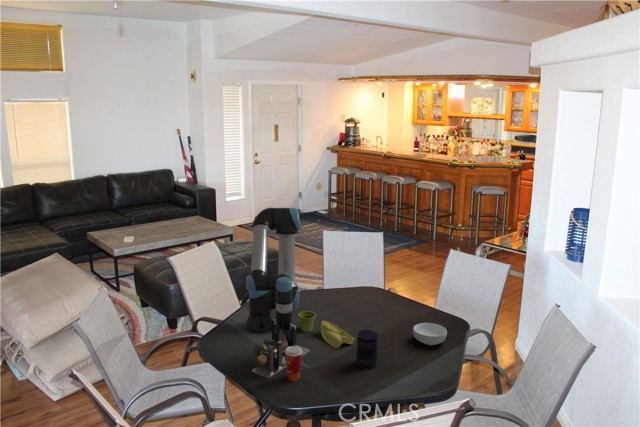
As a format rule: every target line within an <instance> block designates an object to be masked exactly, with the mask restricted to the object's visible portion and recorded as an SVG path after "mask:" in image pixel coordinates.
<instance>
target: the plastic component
mask: <svg viewBox="0 0 640 427" xmlns="http://www.w3.org/2000/svg"><path fill="white" fill-rule="evenodd" d="M320 333H321V334H320V335H321V337H322V338H323V340H324V341H325V342H326V343H327V344H328V345H329V346H331V347H332V348H334V349H339V348H340V347H341V346H342V344H348V345H353V344H354V341H355V338H354V337H353V336H351V334H349V333H347V331H345V330H343V329H342V328H341V327H339V326H338V325H336V324H334V323H333V322H330V321H326V320H322V321H321V322H320Z"/></svg>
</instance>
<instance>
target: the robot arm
mask: <svg viewBox="0 0 640 427" xmlns="http://www.w3.org/2000/svg"><path fill="white" fill-rule="evenodd" d="M299 213H300V212H299V209H298V208H295V207H294V208H293V207H267V208H264V209H263V210H261V211H259V212H258V213H257V215H256V216H255V217H254V219H253V221H252V224H251V233H252V235H253V236H252V248H251V249H252V250H251V264H250V266H251V267H250V274H248V275H246V277H245V290H246V291H248V292H249V294H248V298H249V299H248V300H249V304H248V305H249V307H248V308H249V314H248V317H247V321H246V325H245V327H246V330H247V331H249V332H251V333H253V334H254V333H256V334H263V333H269V332H271V341H274V342H277V343H281V342H282V341H281V336H282V333H283V331H284V334H285V338H286V339H285V340H287V343H288V346H286V348H287V347H289V346H294V345H297V328H298V326H297V325H296V324H295V325H294V324H293V322H292V320H293V319H292V318H293V310H296V309H297V308H298V306H299V301H300V293H301V288H300V287H299V286H298V283H297V282H296V281H295V274H296V273H295V272H296V271H295V269H296V268H295V267H296V265H295V262H296V248H295V247H296V236H297V235H298V233H299V231H301V230H302V229H301V222H300V221H301V220H300V214H299ZM271 231H275V235H277V237H278V263H277V264H278V269H277V270H278V274H277V275H274V274H273V275H271V274H269V275H268V274H267V268H268V267H267V266H268V250H269V249H268V247H269V244H268V243H269V235H270V233H271ZM273 310H276V311H275V318H273V315H272V311H273Z"/></svg>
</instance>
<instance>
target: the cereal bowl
mask: <svg viewBox="0 0 640 427" xmlns="http://www.w3.org/2000/svg"><path fill="white" fill-rule="evenodd" d="M412 333H413V336H414V338H415V339H416V340H417V341H418V342H420V343H422V344H423V343H424V345H426V344H427V346H435V345H439V344H441V343H443V342H444V341H445V340H446V338H447V335H448V331H447V329H446V327H444V326H442V325H440V324H439V323H438V324H437V323H432V322H421V323H418V324H415V325H414V326H413V328H412Z"/></svg>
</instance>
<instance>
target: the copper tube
mask: <svg viewBox="0 0 640 427" xmlns="http://www.w3.org/2000/svg"><path fill="white" fill-rule="evenodd" d="M280 344H282V353H283V352H285V350H286V346H288V343H287V339H285V340H283V341H281V343H280ZM272 349H273V359H274V358H275V357H277V347H274V346H272ZM256 361H257V363H258V365H260V366H262V365H264V364H266V363H268V352H265V353H264V352H262V353H260V356H258V357H257V358H256Z"/></svg>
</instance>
